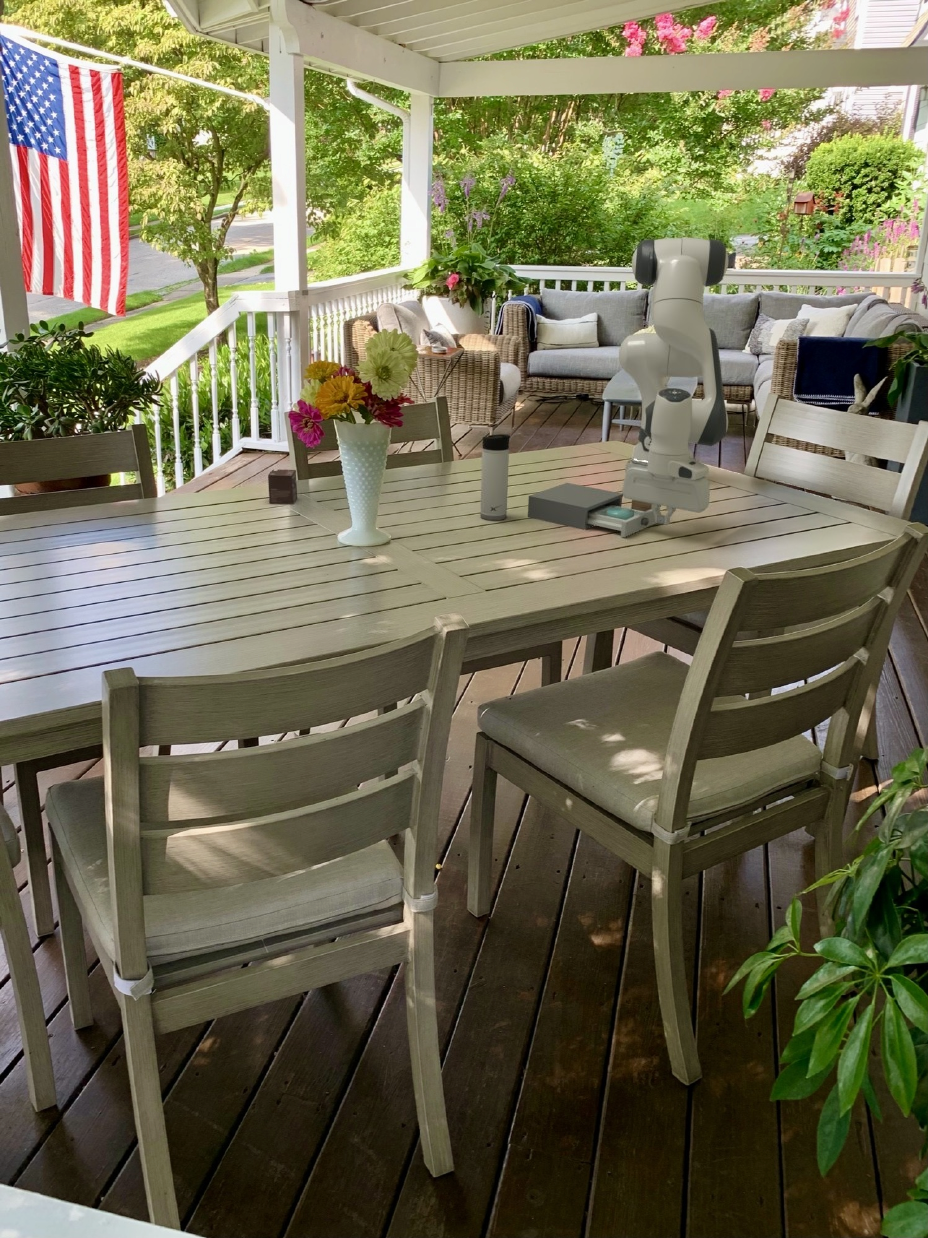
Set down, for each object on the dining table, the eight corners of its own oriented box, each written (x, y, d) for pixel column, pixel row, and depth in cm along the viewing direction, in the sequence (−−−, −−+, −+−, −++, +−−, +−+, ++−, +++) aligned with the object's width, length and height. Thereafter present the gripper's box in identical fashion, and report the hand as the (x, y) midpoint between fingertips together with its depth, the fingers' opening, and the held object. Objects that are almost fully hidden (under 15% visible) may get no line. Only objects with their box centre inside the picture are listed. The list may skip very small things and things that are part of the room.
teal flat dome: (614, 512, 242) (615, 505, 241) (638, 517, 238) (639, 510, 238) (601, 517, 237) (601, 511, 236) (625, 523, 234) (626, 516, 233)
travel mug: (497, 522, 239) (500, 437, 231) (475, 517, 242) (477, 433, 235) (512, 516, 243) (516, 433, 236) (490, 511, 247) (493, 429, 239)
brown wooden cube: (640, 512, 249) (642, 492, 248) (658, 515, 247) (660, 495, 245) (630, 516, 246) (632, 496, 244) (649, 520, 243) (651, 500, 241)
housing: (565, 502, 256) (566, 482, 254) (621, 514, 247) (623, 493, 245) (527, 516, 243) (528, 495, 242) (585, 529, 235) (586, 507, 233)
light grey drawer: (601, 509, 250) (602, 495, 249) (662, 522, 241) (664, 508, 239) (565, 524, 238) (566, 509, 236) (628, 538, 228) (629, 523, 227)
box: (293, 504, 250) (292, 475, 247) (268, 504, 250) (267, 474, 247) (297, 498, 255) (296, 469, 253) (273, 497, 255) (272, 468, 253)
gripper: (619, 459, 230) (615, 518, 235) (703, 473, 218) (696, 535, 224) (633, 454, 235) (628, 512, 240) (715, 468, 223) (708, 529, 228)
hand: (662, 523), depth 232 cm, fingers closed
